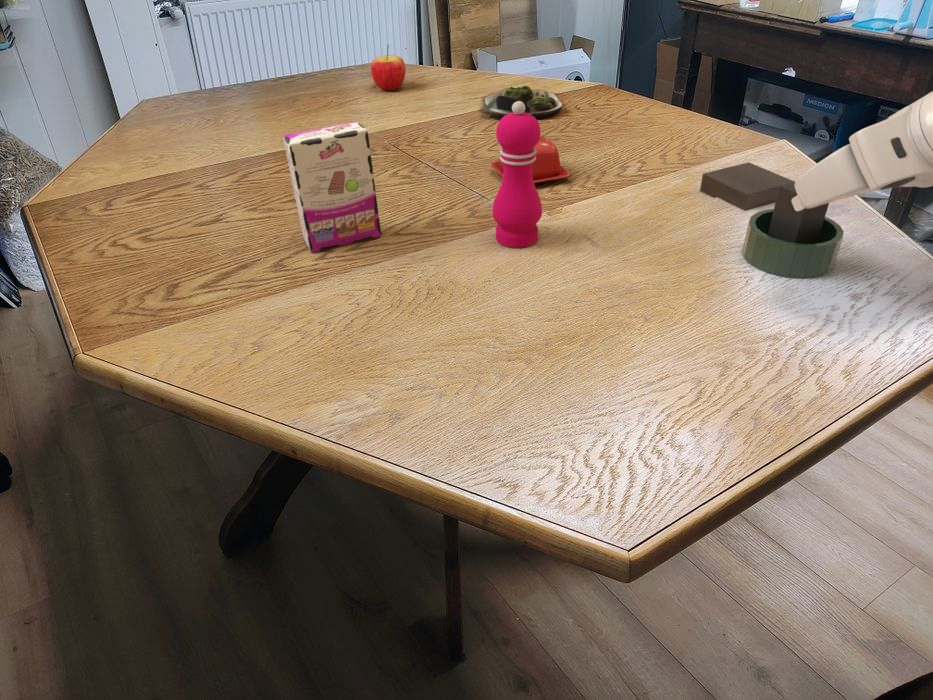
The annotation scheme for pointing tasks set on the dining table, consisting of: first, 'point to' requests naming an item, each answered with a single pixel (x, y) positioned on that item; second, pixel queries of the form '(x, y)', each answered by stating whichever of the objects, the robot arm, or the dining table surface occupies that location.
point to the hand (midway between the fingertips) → (824, 196)
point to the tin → (790, 249)
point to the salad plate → (534, 101)
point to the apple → (388, 71)
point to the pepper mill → (517, 180)
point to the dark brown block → (795, 219)
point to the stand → (743, 185)
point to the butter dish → (542, 163)
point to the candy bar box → (333, 185)
